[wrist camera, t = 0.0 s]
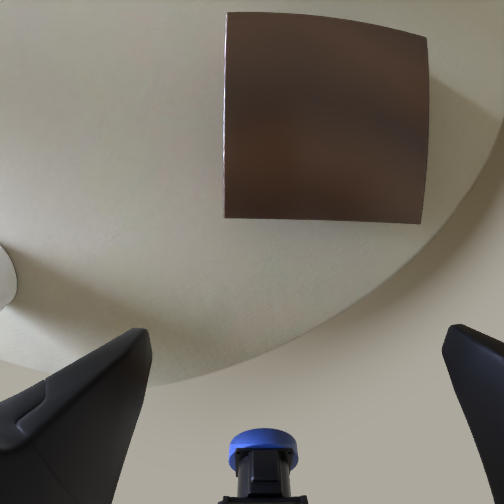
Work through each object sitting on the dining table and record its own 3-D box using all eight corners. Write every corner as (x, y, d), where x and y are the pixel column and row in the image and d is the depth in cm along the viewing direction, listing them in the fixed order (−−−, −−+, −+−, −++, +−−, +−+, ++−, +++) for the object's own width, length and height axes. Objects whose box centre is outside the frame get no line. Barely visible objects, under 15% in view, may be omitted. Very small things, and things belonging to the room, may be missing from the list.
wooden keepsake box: (386, 204, 20) (421, 225, 15) (230, 199, 20) (223, 218, 15) (391, 55, 16) (427, 37, 12) (232, 41, 16) (225, 11, 12)
